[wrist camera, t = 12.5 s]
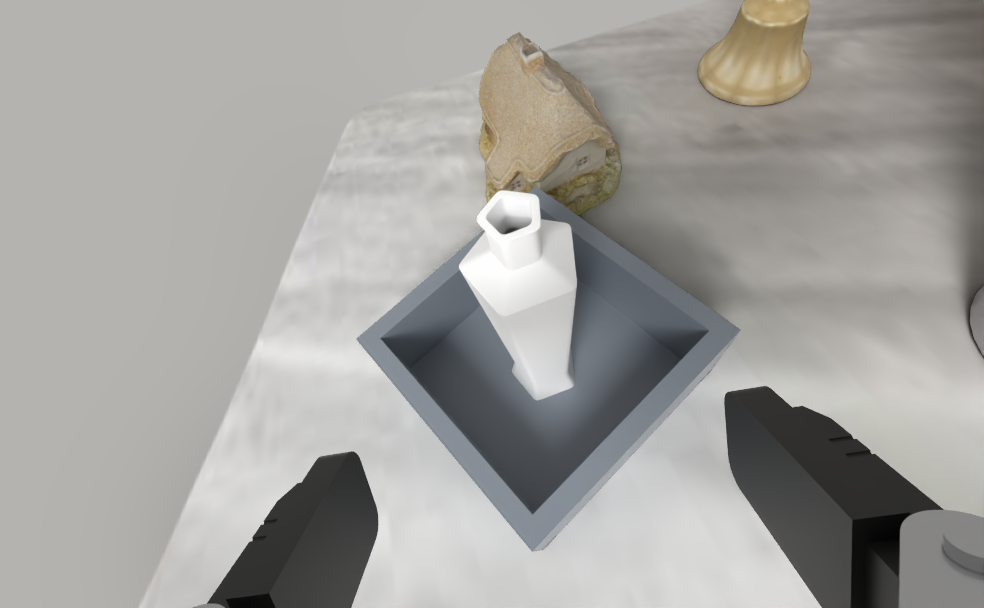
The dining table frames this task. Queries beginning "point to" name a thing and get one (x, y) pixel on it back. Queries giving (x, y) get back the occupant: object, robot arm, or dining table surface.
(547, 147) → the ceramic model
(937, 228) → the dining table surface
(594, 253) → the tote
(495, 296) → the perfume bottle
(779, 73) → the hand bell
